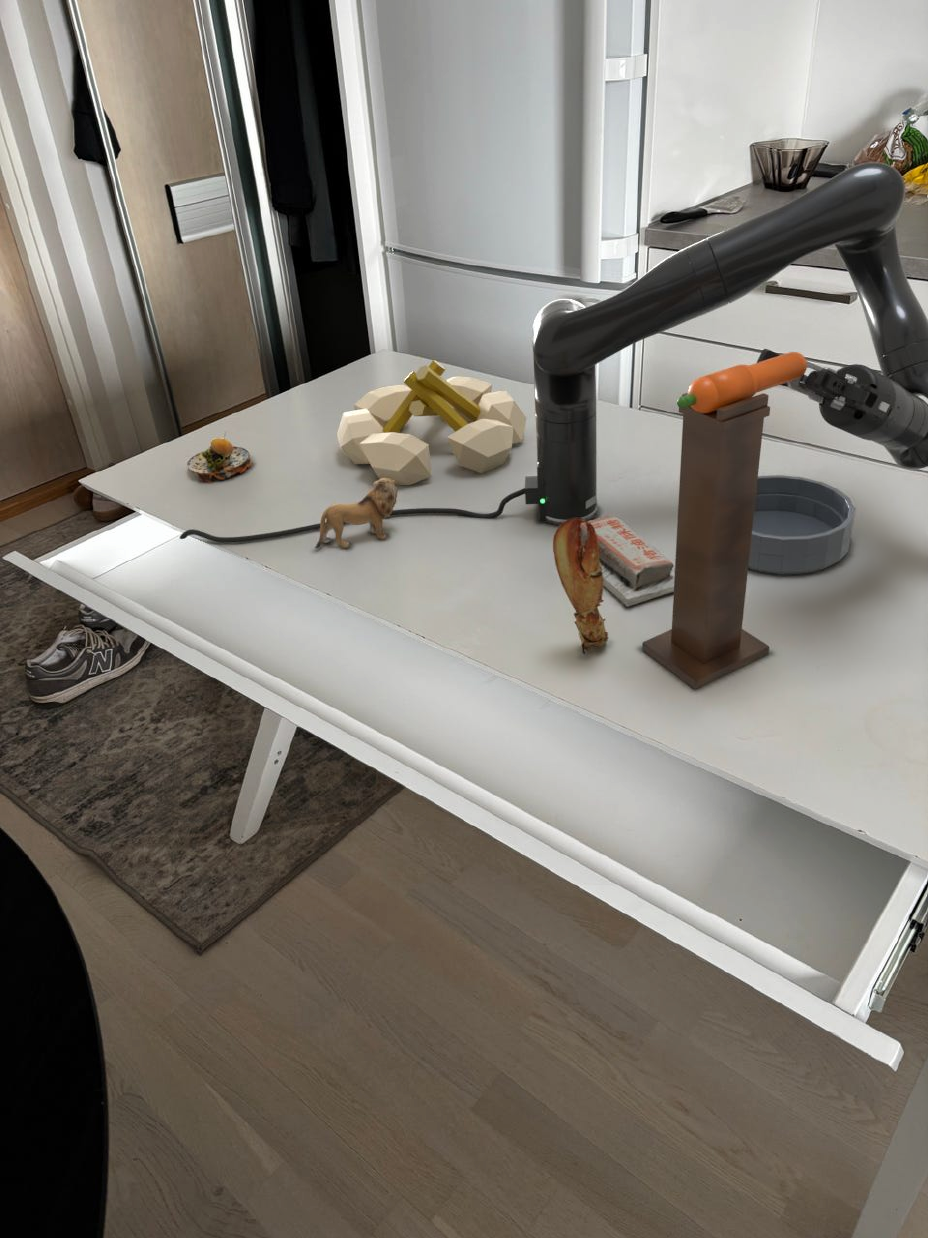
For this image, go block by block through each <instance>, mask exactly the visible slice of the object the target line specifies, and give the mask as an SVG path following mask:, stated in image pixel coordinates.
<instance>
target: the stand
mask: <svg viewBox="0 0 928 1238" xmlns="http://www.w3.org/2000/svg"><path fill="white" fill-rule="evenodd" d="M685 395H687V392H685V393H682V395H681V397H682V396H685ZM768 405H769V394H767V393H760V394H756V395H754V396H753V397H751V398H748V399H745V400H742V401H739V402H736V403H733V404H730V405H727V406H724V407H722V408H719V409H717V410H716V411H713V412H710V413H700V412H697V411H695V410H694V409H693V408H691V406H689V407H686V408H680V407H678V413H680V414H682V430H681V431H682V433H681V448H680V449H681V450H680V466H679V468H680V469H679V486H678V503H677V505H678V506H677V524H676V545H675V546H676V547H675V562H674V571H675V578H674V591H673V597H672V598H673V599H672V617H671V629H669V630H667V631H664V632H663V633H660V634H658V635H656V636H654V637H651V638H649V639H647V640H645V641H642V642H641V649H642V651H643V652H644V653H645V654H647V655H648V656H650V657H651V658H652V659H654V660H655V661H656V662H657V663H659V664H661V665H662V666H663V667H664V668H665V669H667V670H668V671H670V672H671V673H673V674H674V675H675V676H676V677H678V678H679V679H681V680H682V681H683V682H685V684H687V685H689V686H690V687H691V688H692V689H694V690H697V689H700V688H701V687H704V686H706V685H707V684H709V683H711V682H713V681H716V680H717V679H718V680H719V678H722V677H724V676H726V675H729V674H730V673H732V672H734V671H736V670H739V669H740V668H742V667H745V666H746V665H748V664H751V663H753V662H755V661H756V660H759V659H761V658H763V657H765V656H767V655H769V652H770V645H769V644H767V643H765V642H764V641H761V640H760V639H758V638H757V637H756V636H754V635H752V634H751V633H750V632H748V631H747V630H745V629H743V620H744V612H745V611H744V610H745V602H746V595H747V594H746V593H747V584H748V583H747V582H748V574H749V569H748V565H749V556H750V546H751V537H752V527H753V518H754V508H755V499H756V489H757V480H758V476H759V469H760V461H761V460H760V459H761V450H762V440H763V431H764V422H765V418H766V417H769V416H770V414H771V406H770V405H769V406H768Z"/></svg>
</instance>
